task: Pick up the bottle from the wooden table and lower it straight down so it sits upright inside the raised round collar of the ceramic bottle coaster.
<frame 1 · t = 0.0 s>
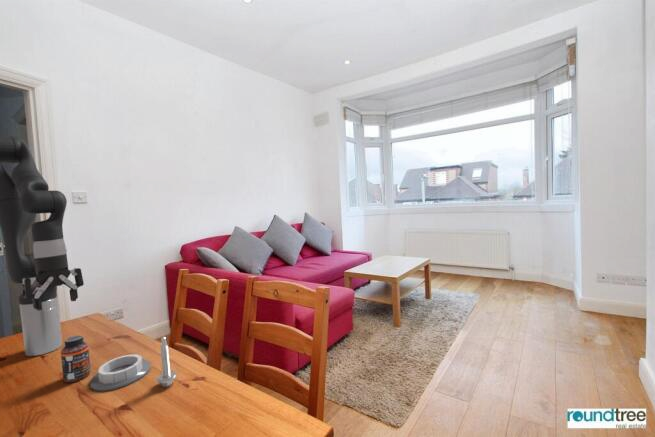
hand: (57, 305, 95), 17 cm above the table, tool pointing down, fingers open, 8 cm apart
bottle coaster: (121, 375, 85), on the table
supplement bottle: (77, 377, 85), on the table
screw: (167, 384, 80), on the table
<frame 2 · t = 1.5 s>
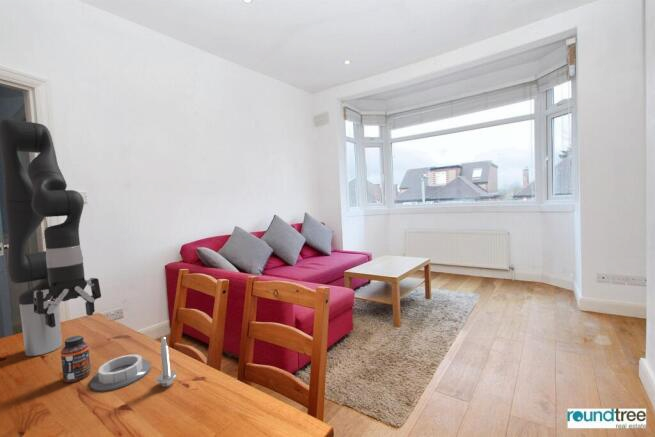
hand: (71, 320, 84), 16 cm above the table, tool pointing down, fingers open, 8 cm apart
nothing on the table moved.
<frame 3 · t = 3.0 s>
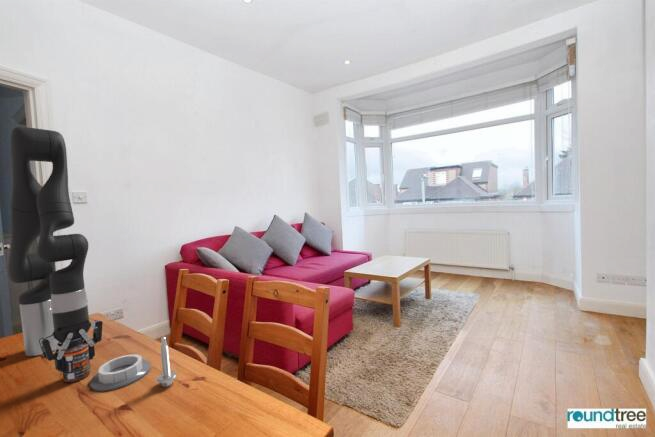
hand: (76, 364, 85), 4 cm above the table, tool pointing down, fingers closed on supplement bottle, 6 cm apart
supplement bottle: (77, 377, 85), on the table, touching gripper
everything else where it was.
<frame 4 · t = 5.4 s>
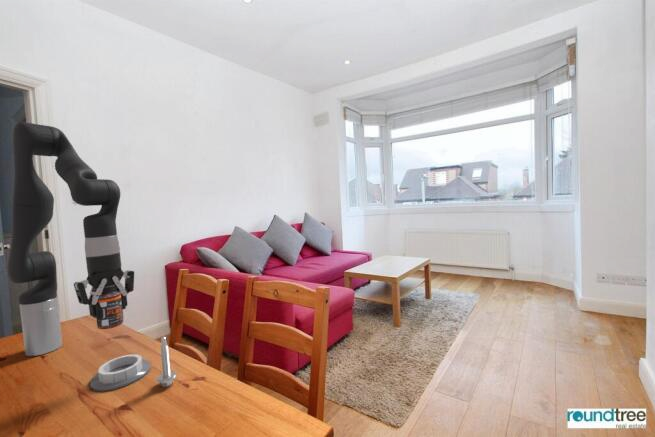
hand: (109, 312, 83), 18 cm above the table, tool pointing down, fingers closed on supplement bottle, 6 cm apart
supplement bottle: (111, 326, 83), point 14 cm above the table, touching gripper
everything else where it was.
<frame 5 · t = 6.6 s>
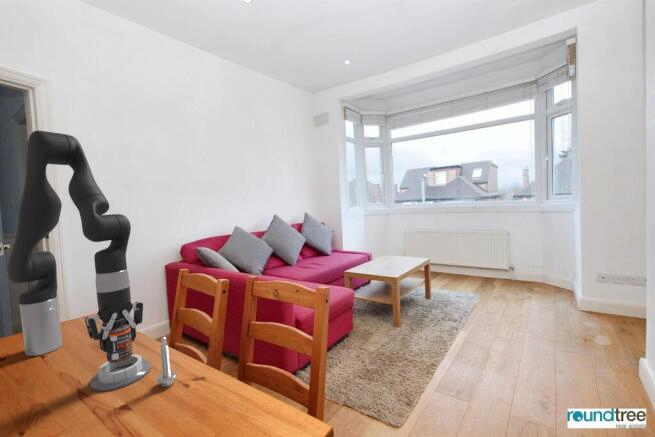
hand: (119, 345, 84), 9 cm above the table, tool pointing down, fingers closed on supplement bottle, 6 cm apart
supplement bottle: (120, 358, 85), point 5 cm above the table, touching gripper
everything else where it was.
when the fingers open (6 cm above the table, at t = 7.6 s): supplement bottle drops 1 cm, resting on bottle coaster.
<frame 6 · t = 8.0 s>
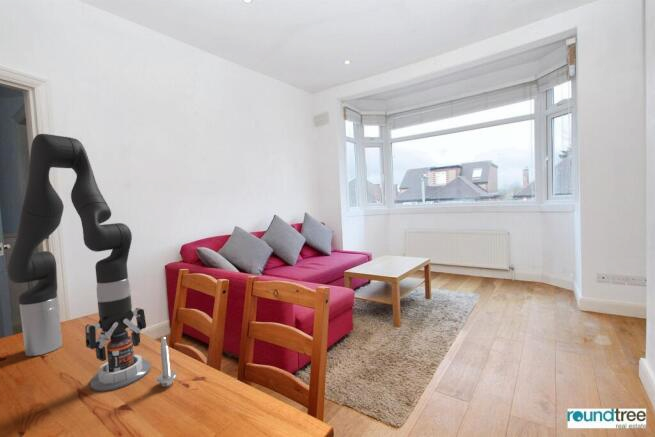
hand: (119, 352, 84), 7 cm above the table, tool pointing down, fingers open, 8 cm apart
supplement bottle: (122, 372, 85), point 1 cm above the table, touching bottle coaster
everything else where it was.
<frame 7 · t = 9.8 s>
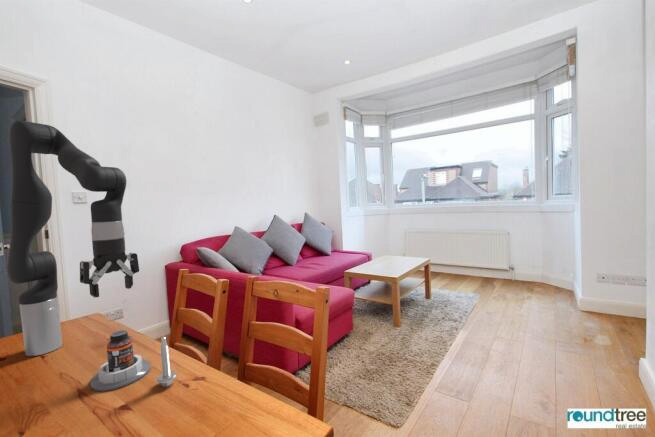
hand: (112, 292, 88), 23 cm above the table, tool pointing down, fingers open, 8 cm apart
nothing on the table moved.
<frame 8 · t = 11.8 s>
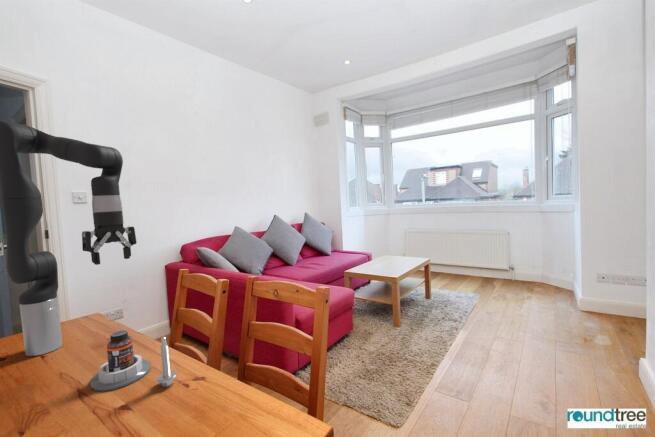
hand: (112, 261, 96), 30 cm above the table, tool pointing down, fingers open, 8 cm apart
nothing on the table moved.
at the end: supplement bottle 0.2 cm off-centre on the bottle coaster, point 0.6 cm above the bottle coaster's base; supplement bottle tilted 0°; the gripper is holding nothing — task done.
